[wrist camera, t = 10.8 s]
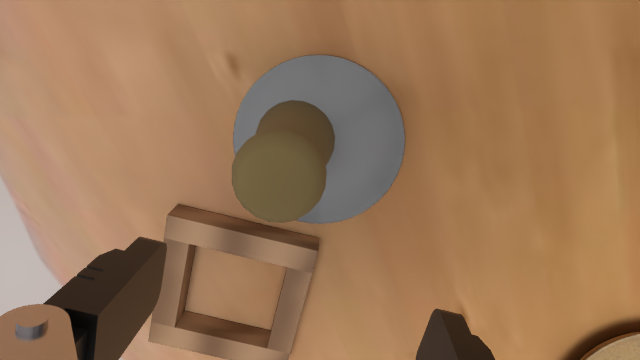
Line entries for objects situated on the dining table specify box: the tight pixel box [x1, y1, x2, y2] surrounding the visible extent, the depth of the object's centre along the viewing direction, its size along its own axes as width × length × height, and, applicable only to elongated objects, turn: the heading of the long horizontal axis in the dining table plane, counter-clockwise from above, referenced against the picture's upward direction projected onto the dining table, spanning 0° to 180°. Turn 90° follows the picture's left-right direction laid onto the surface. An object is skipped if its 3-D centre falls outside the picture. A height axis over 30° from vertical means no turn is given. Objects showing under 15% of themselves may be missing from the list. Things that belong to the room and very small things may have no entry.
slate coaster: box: [233, 55, 405, 224], centre depth 33 cm, size 13×13×1 cm
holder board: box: [148, 204, 319, 360], centre depth 36 cm, size 12×12×2 cm
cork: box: [232, 100, 335, 223], centre depth 27 cm, size 6×6×11 cm
